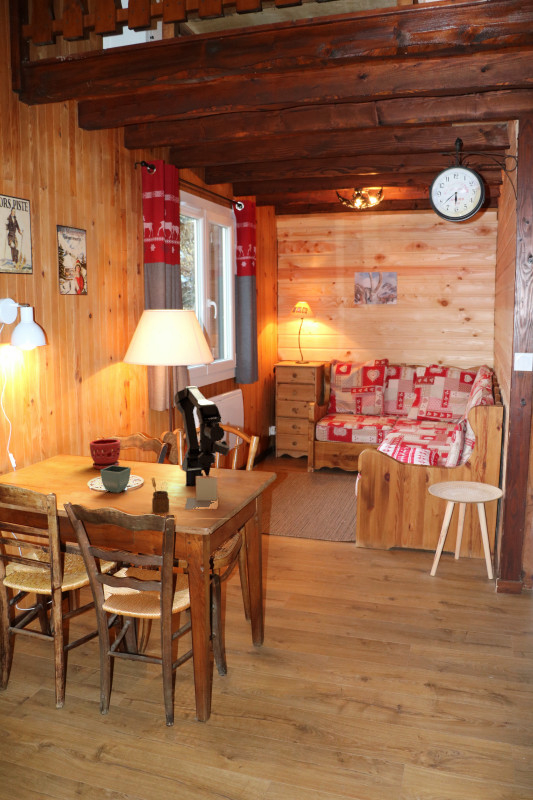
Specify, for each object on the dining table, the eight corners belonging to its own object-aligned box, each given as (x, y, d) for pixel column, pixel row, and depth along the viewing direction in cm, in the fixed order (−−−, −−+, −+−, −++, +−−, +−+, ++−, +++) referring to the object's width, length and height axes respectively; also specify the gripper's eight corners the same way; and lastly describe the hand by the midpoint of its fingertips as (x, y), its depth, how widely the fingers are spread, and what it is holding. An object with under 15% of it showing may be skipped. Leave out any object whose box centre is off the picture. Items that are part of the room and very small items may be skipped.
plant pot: (125, 464, 303) (124, 438, 301) (112, 471, 290) (111, 445, 288) (99, 462, 306) (98, 437, 304) (85, 469, 293) (84, 443, 291)
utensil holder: (163, 515, 233) (162, 482, 232) (148, 512, 236) (147, 479, 234) (172, 510, 239) (172, 478, 237) (157, 508, 241) (157, 475, 240)
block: (195, 501, 249) (195, 477, 247) (196, 499, 251) (196, 476, 249) (217, 500, 249) (217, 477, 248) (217, 499, 251) (217, 476, 250)
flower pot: (131, 489, 265) (131, 467, 263) (120, 495, 257) (119, 472, 255) (112, 486, 268) (112, 465, 266) (100, 492, 259) (99, 470, 258)
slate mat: (184, 510, 239) (184, 509, 239) (187, 498, 253) (187, 497, 253) (218, 510, 239) (218, 509, 239) (218, 498, 253) (218, 497, 253)
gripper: (228, 441, 246) (228, 482, 248) (228, 431, 264) (228, 469, 266) (197, 441, 245) (198, 482, 248) (200, 431, 264) (200, 469, 266)
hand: (207, 475), depth 257 cm, fingers closed
